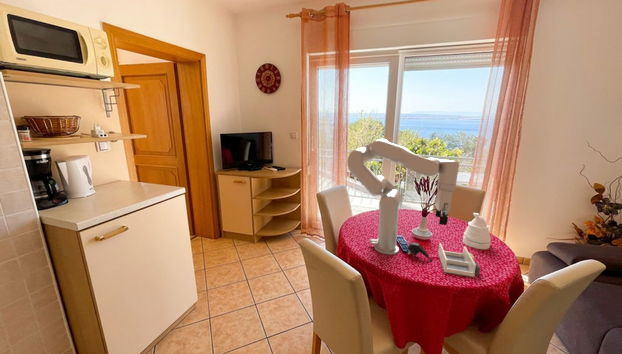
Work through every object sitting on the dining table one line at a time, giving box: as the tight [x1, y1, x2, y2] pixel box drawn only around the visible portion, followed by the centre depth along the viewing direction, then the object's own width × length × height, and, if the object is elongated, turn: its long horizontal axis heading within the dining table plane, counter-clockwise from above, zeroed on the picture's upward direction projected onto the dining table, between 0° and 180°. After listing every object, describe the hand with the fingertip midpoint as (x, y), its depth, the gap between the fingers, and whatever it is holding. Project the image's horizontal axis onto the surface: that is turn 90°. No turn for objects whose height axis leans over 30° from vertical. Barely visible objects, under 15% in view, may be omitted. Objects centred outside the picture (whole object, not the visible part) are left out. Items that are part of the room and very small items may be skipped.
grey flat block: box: [474, 261, 481, 277], centre depth 114 cm, size 1×5×4 cm, turn 162°
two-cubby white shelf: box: [437, 242, 476, 278], centre depth 120 cm, size 12×18×6 cm, turn 162°
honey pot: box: [462, 212, 492, 250], centre depth 139 cm, size 13×13×18 cm
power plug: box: [407, 242, 433, 262], centre depth 127 cm, size 6×8×12 cm
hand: (440, 220), depth 119 cm, fingers open, 9 cm apart
